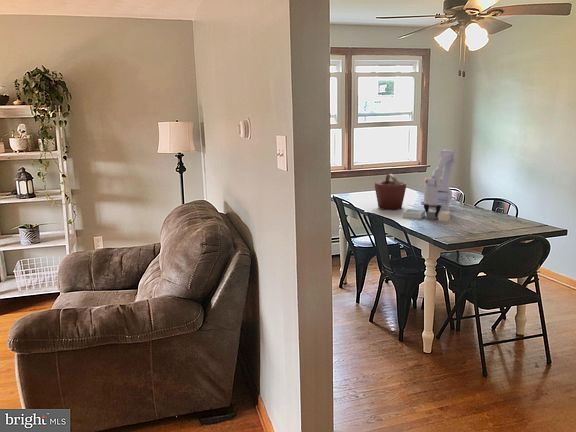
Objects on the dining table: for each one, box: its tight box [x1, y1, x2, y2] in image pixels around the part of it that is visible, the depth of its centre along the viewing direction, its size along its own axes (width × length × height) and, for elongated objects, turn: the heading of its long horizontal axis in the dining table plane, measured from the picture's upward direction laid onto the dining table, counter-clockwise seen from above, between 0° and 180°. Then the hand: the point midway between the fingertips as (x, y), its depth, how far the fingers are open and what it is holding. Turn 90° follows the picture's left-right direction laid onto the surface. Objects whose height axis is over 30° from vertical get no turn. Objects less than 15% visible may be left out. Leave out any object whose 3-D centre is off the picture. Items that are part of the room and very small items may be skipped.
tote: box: [402, 208, 426, 220], centre depth 320 cm, size 11×12×4 cm
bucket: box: [374, 173, 407, 211], centre depth 348 cm, size 24×22×25 cm
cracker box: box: [423, 177, 443, 207], centre depth 353 cm, size 14×6×21 cm, turn 84°
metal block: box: [425, 209, 439, 221], centre depth 313 cm, size 8×6×5 cm
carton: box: [438, 211, 451, 222], centre depth 309 cm, size 8×6×5 cm
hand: (432, 216), depth 314 cm, fingers closed on metal block, 5 cm apart
